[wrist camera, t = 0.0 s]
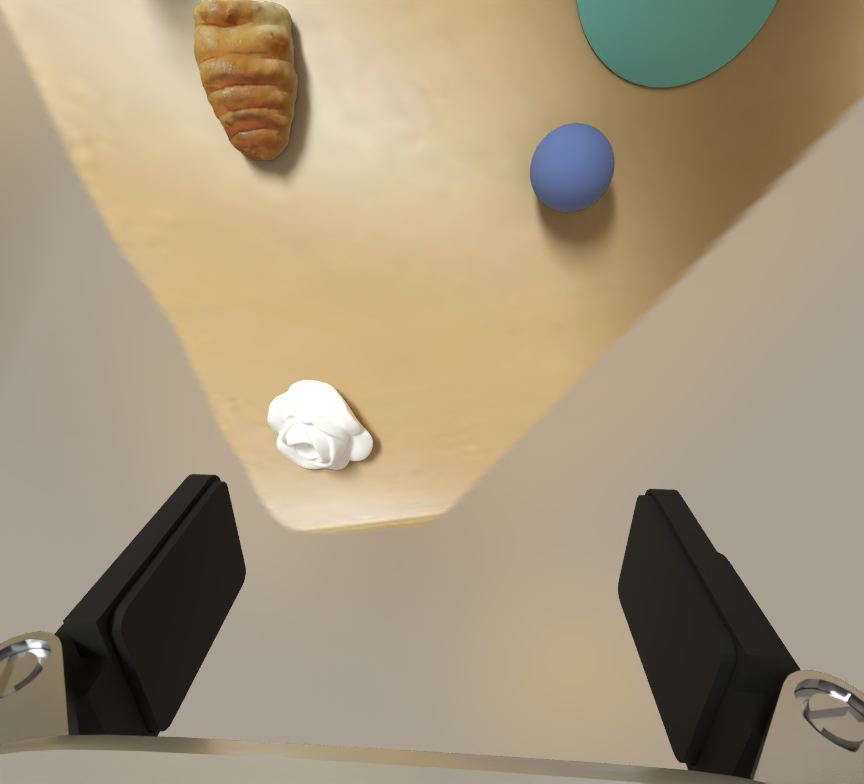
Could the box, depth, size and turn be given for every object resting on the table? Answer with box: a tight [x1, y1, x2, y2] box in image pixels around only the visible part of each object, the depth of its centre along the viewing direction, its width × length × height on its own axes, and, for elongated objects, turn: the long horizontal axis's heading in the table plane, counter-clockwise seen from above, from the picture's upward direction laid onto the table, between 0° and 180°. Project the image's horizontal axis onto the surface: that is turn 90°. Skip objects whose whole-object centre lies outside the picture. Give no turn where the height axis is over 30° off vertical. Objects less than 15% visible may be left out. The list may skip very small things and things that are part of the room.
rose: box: [268, 380, 373, 470], centre depth 45 cm, size 10×4×10 cm
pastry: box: [193, 0, 298, 160], centre depth 33 cm, size 9×7×4 cm
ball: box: [530, 123, 614, 212], centre depth 33 cm, size 6×6×6 cm
